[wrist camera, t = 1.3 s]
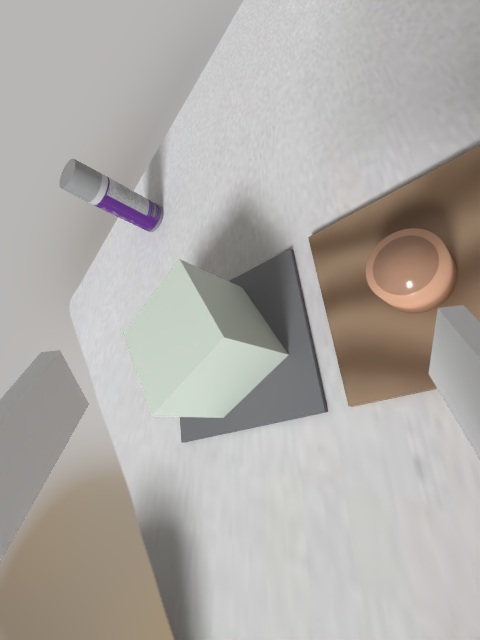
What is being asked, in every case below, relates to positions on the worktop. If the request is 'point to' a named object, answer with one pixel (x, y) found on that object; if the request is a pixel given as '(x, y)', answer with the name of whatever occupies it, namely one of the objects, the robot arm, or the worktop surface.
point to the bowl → (412, 271)
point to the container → (110, 196)
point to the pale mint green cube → (200, 345)
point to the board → (373, 312)
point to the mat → (291, 374)
